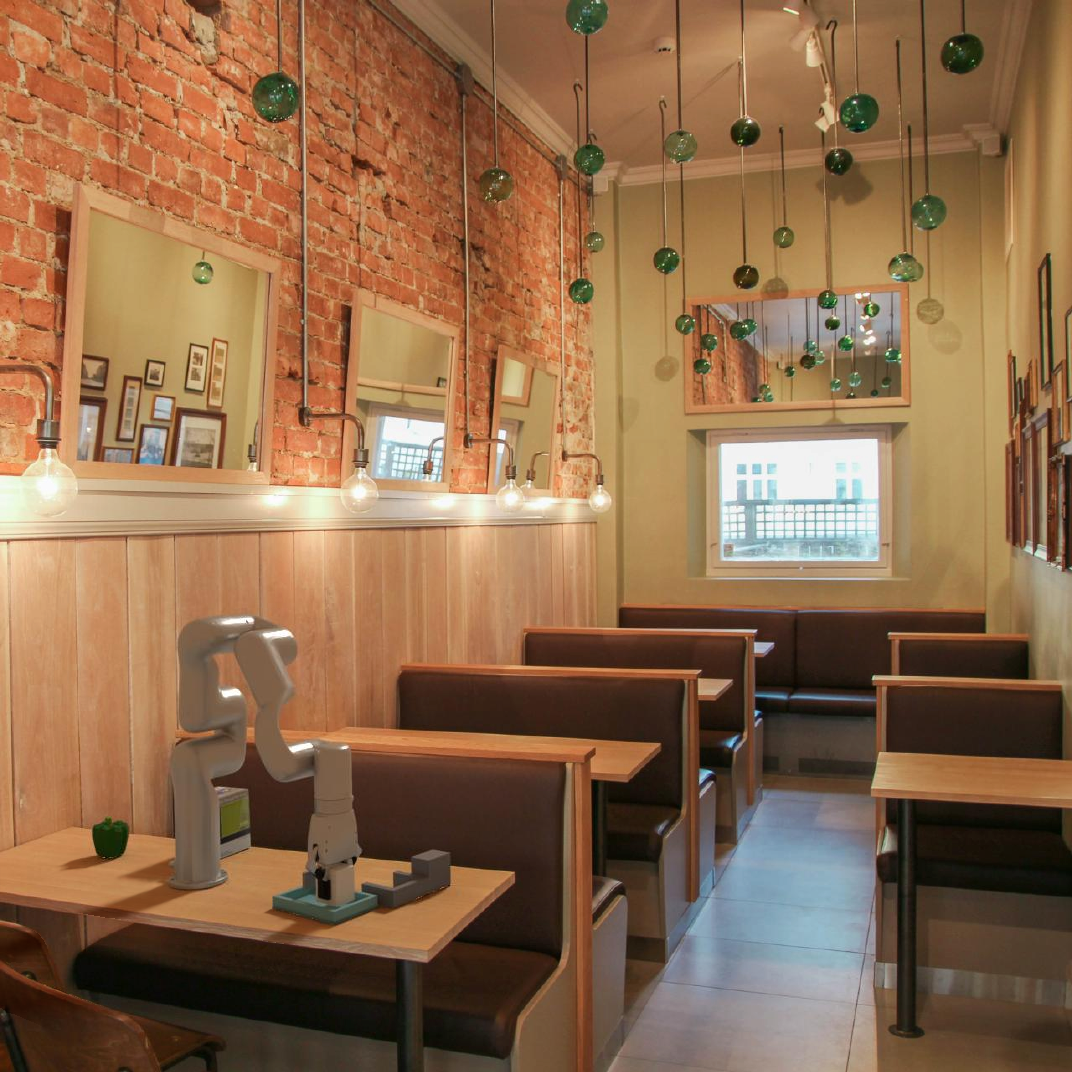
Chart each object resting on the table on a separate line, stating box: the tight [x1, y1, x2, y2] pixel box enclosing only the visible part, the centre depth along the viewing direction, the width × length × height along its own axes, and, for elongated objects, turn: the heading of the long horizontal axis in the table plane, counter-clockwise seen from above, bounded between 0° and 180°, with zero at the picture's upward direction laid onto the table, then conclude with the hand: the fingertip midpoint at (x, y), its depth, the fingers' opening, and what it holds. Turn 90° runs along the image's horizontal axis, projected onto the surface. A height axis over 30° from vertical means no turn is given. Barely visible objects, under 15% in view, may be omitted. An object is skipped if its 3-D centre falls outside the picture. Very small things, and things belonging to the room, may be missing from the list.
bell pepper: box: [91, 815, 130, 859], centre depth 268 cm, size 8×8×10 cm
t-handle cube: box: [302, 862, 356, 907], centre depth 227 cm, size 10×5×7 cm, turn 54°
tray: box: [271, 885, 379, 926], centre depth 227 cm, size 18×12×2 cm, turn 54°
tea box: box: [213, 786, 252, 860], centre depth 268 cm, size 15×10×15 cm
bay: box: [360, 849, 452, 909], centre depth 236 cm, size 9×18×7 cm, turn 144°
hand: (334, 894), depth 225 cm, fingers closed on t-handle cube, 5 cm apart
